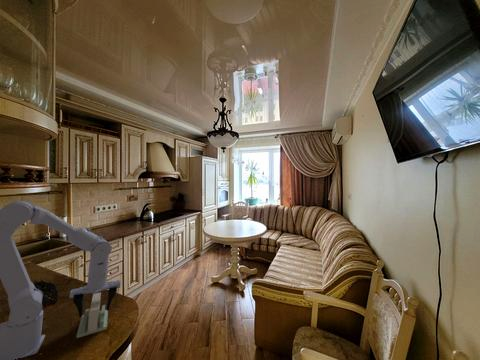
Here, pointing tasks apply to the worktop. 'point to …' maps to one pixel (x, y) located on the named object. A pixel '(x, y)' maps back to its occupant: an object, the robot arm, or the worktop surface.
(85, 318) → the rack
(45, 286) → the decorative element
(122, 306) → the worktop surface
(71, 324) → the worktop surface
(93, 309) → the beige rectangular block
